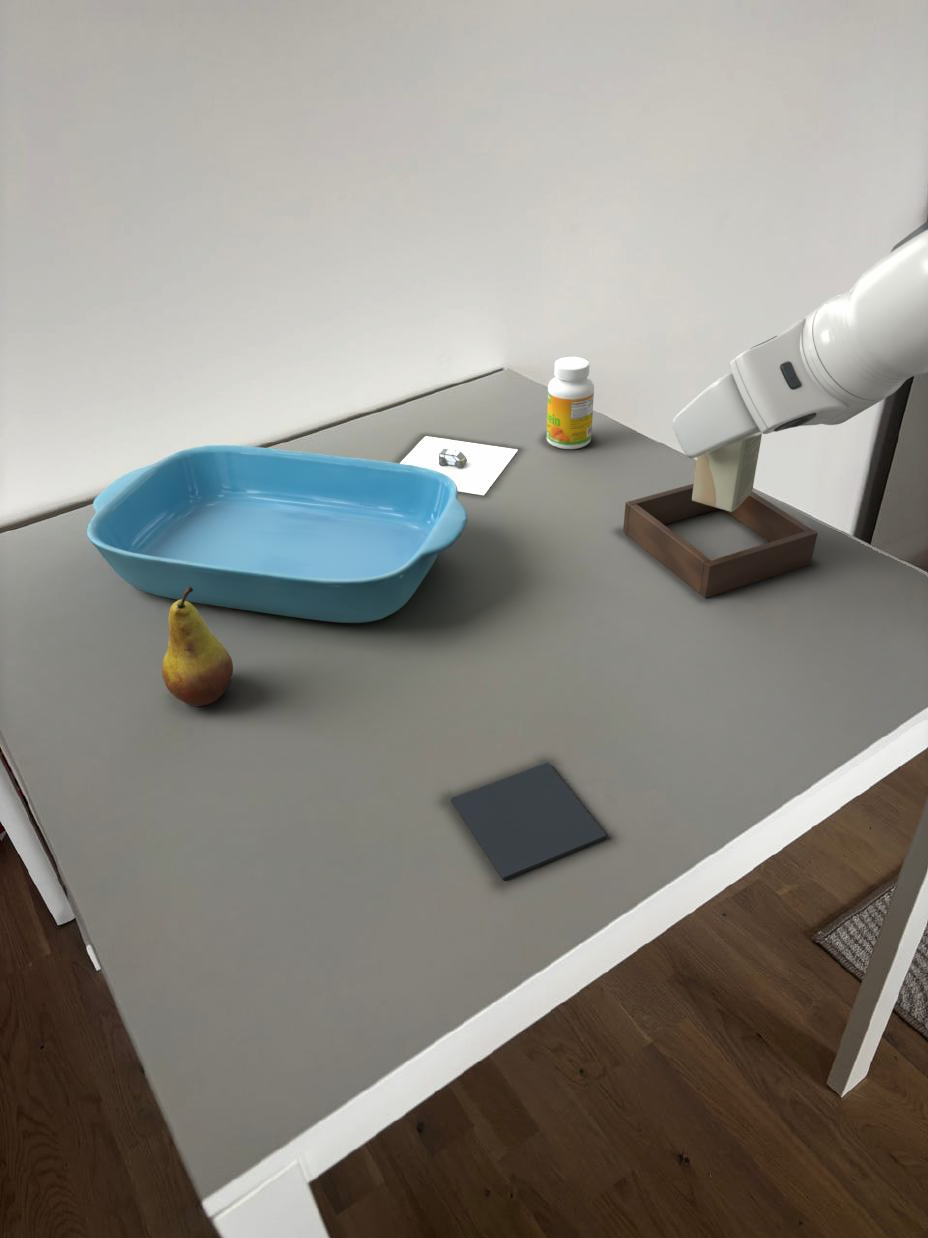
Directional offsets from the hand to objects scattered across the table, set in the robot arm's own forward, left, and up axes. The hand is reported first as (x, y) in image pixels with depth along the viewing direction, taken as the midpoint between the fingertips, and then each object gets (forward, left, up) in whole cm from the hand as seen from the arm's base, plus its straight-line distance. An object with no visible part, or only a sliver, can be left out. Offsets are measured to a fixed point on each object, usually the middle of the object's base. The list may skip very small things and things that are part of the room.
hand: (725, 436), depth 90 cm
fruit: (0, +51, -12) cm, 52 cm away
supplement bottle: (+27, 0, -12) cm, 30 cm away
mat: (-24, +34, -12) cm, 43 cm away
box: (-1, 0, -6) cm, 6 cm away
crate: (-1, 0, -12) cm, 12 cm away
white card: (+28, +15, -12) cm, 34 cm away
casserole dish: (+16, +39, -12) cm, 44 cm away
